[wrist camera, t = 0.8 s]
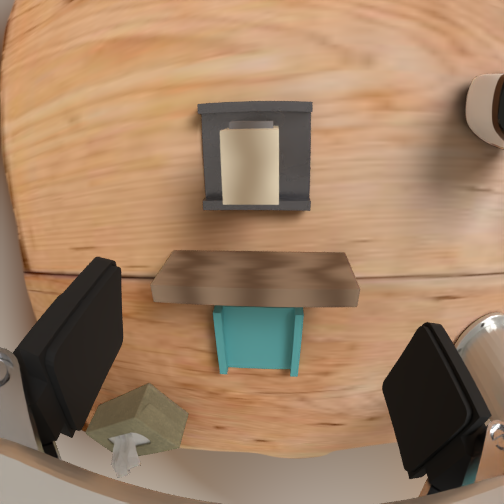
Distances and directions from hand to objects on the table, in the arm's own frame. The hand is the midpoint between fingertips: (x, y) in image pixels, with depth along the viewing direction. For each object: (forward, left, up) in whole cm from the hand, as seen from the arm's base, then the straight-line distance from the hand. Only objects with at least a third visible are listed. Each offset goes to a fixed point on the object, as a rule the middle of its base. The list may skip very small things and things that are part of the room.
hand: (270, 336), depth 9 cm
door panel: (+2, +10, -26) cm, 28 cm away
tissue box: (+25, +43, -26) cm, 56 cm away
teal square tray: (+2, +22, -26) cm, 34 cm away
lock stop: (+2, -2, -25) cm, 25 cm away
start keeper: (+2, -2, -26) cm, 26 cm away
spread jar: (-27, -11, -26) cm, 39 cm away
